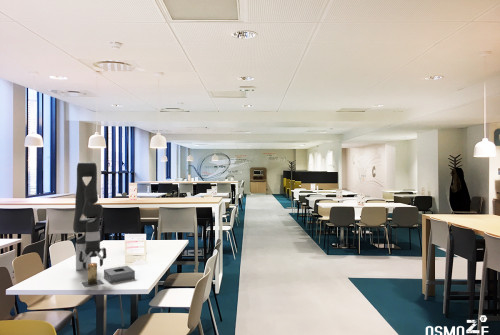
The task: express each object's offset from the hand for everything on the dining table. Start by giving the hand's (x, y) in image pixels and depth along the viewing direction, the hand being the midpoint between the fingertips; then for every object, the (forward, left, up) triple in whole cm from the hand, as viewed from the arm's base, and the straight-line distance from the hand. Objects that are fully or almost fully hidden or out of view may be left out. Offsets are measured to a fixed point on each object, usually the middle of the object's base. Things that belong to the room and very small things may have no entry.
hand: (92, 267), depth 205 cm
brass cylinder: (0, 0, -9) cm, 9 cm away
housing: (-1, +15, -9) cm, 18 cm away
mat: (0, 0, -9) cm, 9 cm away
